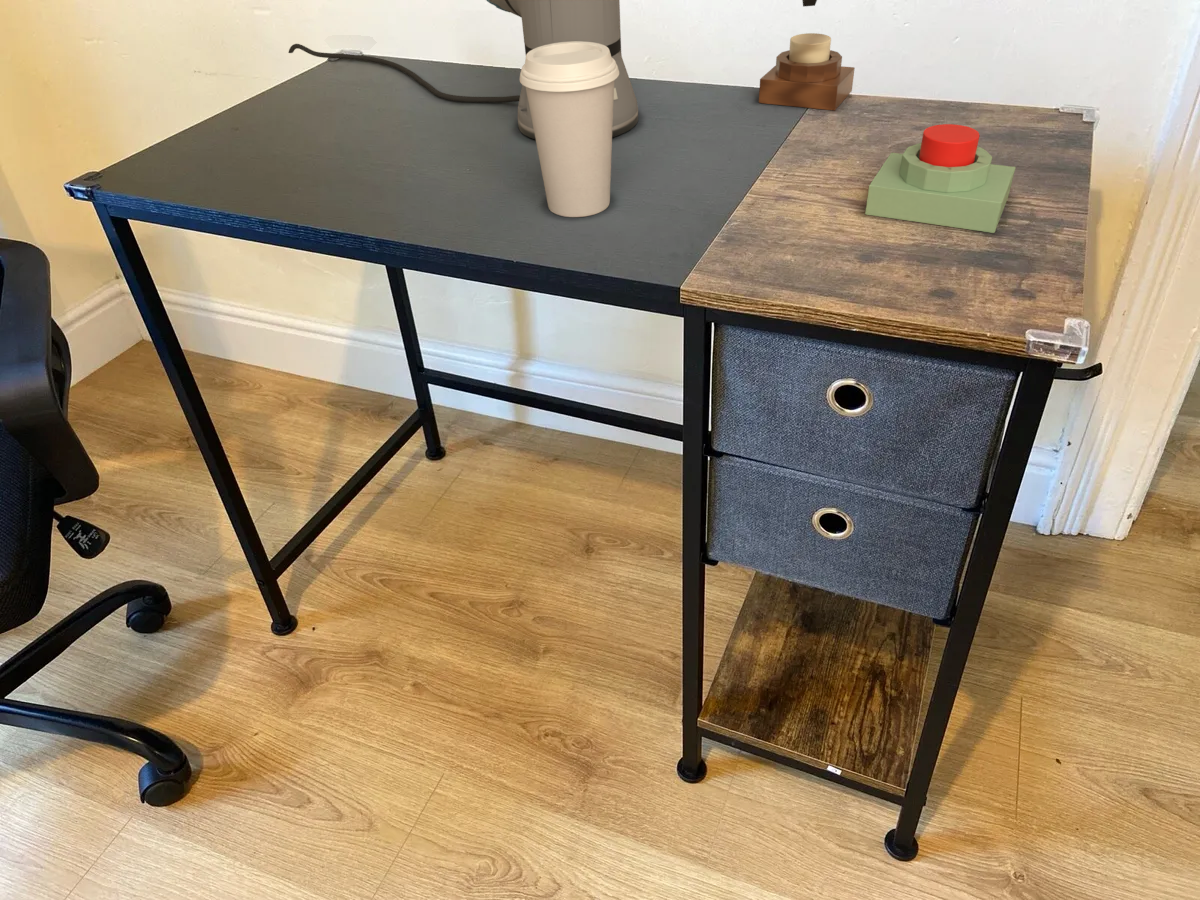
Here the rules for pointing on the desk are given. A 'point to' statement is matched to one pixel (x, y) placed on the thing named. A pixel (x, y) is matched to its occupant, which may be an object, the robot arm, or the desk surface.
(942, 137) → the near button
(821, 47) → the far button
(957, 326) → the desk surface
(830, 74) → the wooden square base
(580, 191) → the coffee cup
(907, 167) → the sage console
